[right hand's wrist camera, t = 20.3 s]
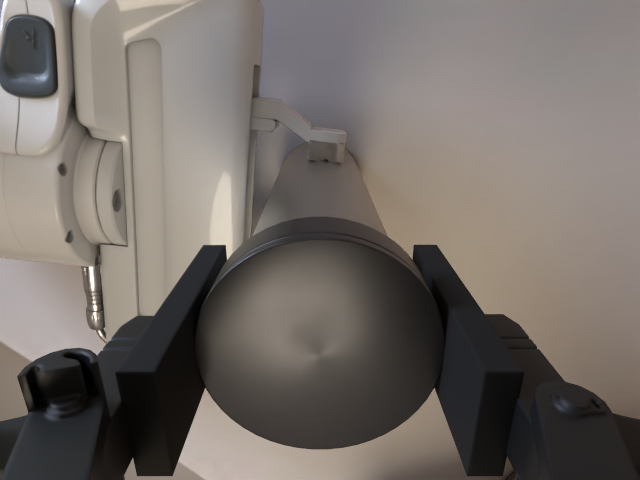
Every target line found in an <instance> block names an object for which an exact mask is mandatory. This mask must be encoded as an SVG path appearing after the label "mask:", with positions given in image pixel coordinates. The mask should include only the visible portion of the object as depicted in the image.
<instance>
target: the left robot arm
mask: <svg viewBox="0 0 640 480" xmlns="http://www.w3.org/2000/svg"><path fill="white" fill-rule="evenodd" d="M263 25H264V8H263V5H262V3H261V1H260V0H4V2H3V7H2V12H1V19H0V258H8V259H18V260H28V261H38V262H47V263H56V264H66V265H76V266H81V267H82V277H83V285H84V290H85V293H86V298H87V308H86V317H87V322H88V325H89V327H90V328H91V329H93V330H96V332H97V334H98V335H99V337H100V338H101V339H102V340H103V341H104V342H105V343H106V344H107V343H108V342H109V341H111V338H112V337H113V335H114V334H115V333H116V332H117V330H118V329H119V328H120V327H121V326H122V325H123V324H125V323H126V322H128V321H130V320H131V319H133V318H134V317H136V316H154V315H155V314H156V312H157V311H158V309H159V308H160V306H161V305H162V304H163V302H164V301H165V299H166V298H167V296H168V295H169V294H170V292H171V291H172V289H173V288H174V286H175V285H176V283H177V282H178V281H179V279H180V278H181V276H182V275H183V273H184V272H185V271H186V269H187V268H188V266H189V265H190V263H191V262H192V260H193V259H194V258H195V256H196V255H197V253H198V252H199V250H200V249H201V248H202V246H203V245H226V253H227V260H228V258H229V257H230V256H231V255H232V254H233V253H234V252H235V251H236V250H237V249H238V248H239V247H240V246H241V245H242V244H243V243H244V242H246V241H247V240H248V239H249V238H251V226H252V209H253V193H254V176H255V159H256V142H257V130H260V131H269V132H273V131H274V130H275V129H276V128H277V127H278V125H279V122H280V123H282V124H283V125H284V126H286V127H287V128H289V129H290V130H291V131H293V132H294V133H295V134H297V135H298V136H300V137H301V138H302V139H304V140H305V141H306V142H308V143H309V141H310V145H309V157H308V160H315V161H323V160H325V159H327V160H328V161H329V162H334V163H343V157H344V151H345V144H346V137H347V133H346V131H344V130H340V129H332V128H324V127H316V126H312V123H310V122H309V121H308V120H306V119H305V118H304V117H302V116H301V115H300V114H298V113H297V112H296V111H295V110H293V109H292V108H291V107H289V106H288V105H287V104H285V103H284V102H283V101H281V100H275V99H267V98H259V92H260V76H261V59H262V42H263ZM103 328H105V331H106V332H105V331H104V329H103Z"/></svg>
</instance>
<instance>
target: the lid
mask: <svg viewBox="0 0 640 480" xmlns="http://www.w3.org/2000/svg"><path fill="white" fill-rule="evenodd" d="M194 343H195V352H196V360H197V367H198V371H199V374H200V377H201V379H202V381H203V383H204V385H205V388H206V389H207V391H208V392H209V394H210V395H211V397H212V399H213V400H214V401H215V402H216V404H217V405H218V406H219V407H220V408H221V409H222V411H224V412H225V413H226V414H227V415H228V416H229V417H230V418H231V419H232V420H234V421H235V422H236V423H238V424H239V425H241V426H242V427H243V428H245V429H247V430H249V431H250V432H252V433H254V434H256V435H258V436H260V437H262V438H265V439H267V440H269V441H273V442H276V443H279V444H282V445H287V446H292V447H297V448H306V449H334V448H343V447H348V446H353V445H357V444H361V443H364V442H367V441H370V440H373V439H375V438H377V437H380V436H382V435H384V434H386V433H388V432H389V431H391V430H393V429H395V428H396V427H398V426H399V425H401V424H402V423H403V422H405V421H406V420H407V419H409V418H410V417H411V416H412V415H413V414H414V413H415V412H416V411H417V410H418V409H419V408H420V407H421V406H422V404H423V403H424V402H425V401H426V400H427V398H428V397H429V395H430V393H431V392H432V390H433V389H434V387H435V385H436V383H437V380H438V378H439V376H440V373H441V370H442V365H443V358H444V350H445V330H444V324H443V319H442V317H441V314H440V311H439V308H438V305H437V304H436V302H435V300H434V298H433V296H432V294H431V292H430V290H429V288H428V286H427V284H426V282H425V280H424V278H423V276H422V275H421V273H420V271H419V269H418V267H417V265H416V264H415V263H414V262H413V260H412V259H411V258H410V256H409V255H408V254H407V253H406V252H405V251H404V250H403V249H402V248H401V247H400V246H399V245H398V244H397V243H396V242H394V241H393V240H392V239H390V238H389V237H388V236H386V235H384V234H383V233H381V232H379V231H377V230H375V229H374V228H371V227H369V226H366V225H364V224H361V223H359V222H355V221H351V220H347V219H343V218H335V217H305V218H297V219H293V220H289V221H285V222H281V223H278V224H276V225H273V226H271V227H268V228H266V229H264V230H262V231H261V232H259V233H257V234H255V235H254V236H252V237H251V238H249V239H248V240H247V241H246V242H244V243H243V244H242V245H241V246H240V247H239V248H238V249H237V250H236V251H235V252H234V253H233V254H232V255H231V256H230V257H229V258H228V260H227V261H226V262H225V264H224V265H223V267H222V269H221V270H220V272H219V274H218V276H217V278H216V280H215V282H214V284H213V286H212V288H211V289H210V291H209V293H208V295H207V297H206V299H205V301H204V303H203V305H202V307H201V310H200V313H199V316H198V319H197V323H196V328H195V334H194Z"/></svg>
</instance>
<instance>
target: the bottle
mask: <svg viewBox="0 0 640 480" xmlns="http://www.w3.org/2000/svg"><path fill="white" fill-rule="evenodd" d="M309 145H310V141H309V143H308V142H306V143H303V144H301V145H299V146H298V147H296V148H295V149H294V150H293V151H292V152H290V154H289V155H288V156H287V157H286V159H285V161H284V163H283V165H282V167H281V170H280V172H279V174H278V177H277V179H276V181H275V184H274V186H273V188H272V191H271V193H270V196H269V198H268V200H267V203H266V205H265V207H264V210H263V212H262V214H261V217H260V219H259V221H258V224H257V226H256V228H255V231H254V233H253V235H252V236H254V235H255V234H257V233H259V232H261V231H262V230H264V229H266V228H268V227H271V226H273V225H276V224H278V223H281V222H285V221H289V220H293V219H297V218H305V217H335V218H343V219H347V220H351V221H355V222H359V223H361V224H364V225H366V226H369V227H371V228H374V229H375V230H377V231H379V232H381V233H383V234H384V235H386V236H387V234H386V232H385V229H384V227H383V225H382V222H381V220H380V218H379V215H378V213H377V211H376V208H375V206H374V204H373V201H372V199H371V197H370V194H369V192H368V190H367V187H366V185H365V183H364V180H363V178H362V176H361V173H360V171H359V168H358V166H357V164H356V162H355V160H354V158H353V157H352V155H351V154H350V153H349V152H348V151H347V150H346V149H345V151H344V157H343V163H334V162H329V161H328V160H327V159H325V160H323V161H315V160H308V157H309Z"/></svg>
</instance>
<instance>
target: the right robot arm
mask: <svg viewBox="0 0 640 480" xmlns="http://www.w3.org/2000/svg"><path fill="white" fill-rule="evenodd" d="M226 261H227V253H226V245H203V246H202V248H201V249H200V250H199V252H198V253H197V255H196V256H195V258H194V259H193V260H192V262H191V263H190V265H189V266H188V268H187V269H186V271H185V272H184V273H183V275H182V276H181V278H180V279H179V281H178V282H177V283H176V285H175V286H174V288H173V289H172V291H171V292H170V294H169V295H168V296H167V298H166V299H165V301H164V302H163V304H162V305H161V306H160V308H159V309H158V311H157V312H156V314H155V315H154V316H136V317H134V318H133V319H131V320H130V321H128V322H126V323H125V324H123V325H122V326H121V327H120V328H119V329H118V330H117V332H116V333H115V334H114V335H113V337H112V338H111V341H109V342H108V343H107V344H106V345H105V347H104V348H103V351H101V352H100V353H99V354H98V355H96V354H95V353H93V352H92V351H91V350H87V349H82V348H73V349H64V350H60V351H56V352H52V353H50V354H47V355H45V356H43V357H41V358H38V359H36V360H35V361H33V362H32V363H30V364H29V365H28V366H26V367H25V368H24V369H23V370H22V371H21V373H20V374H19V375H18V376H17V377H18V381H19V384H20V387H21V390H22V393H23V396H24V400H25V403H26V406H27V409H28V415H26V416H23V417H19V418H14V419H10V420H5V421H1V422H0V480H125V477H124V474H125V472H126V470H127V468H128V466H129V464H130V462H131V460H132V458H133V459H134V463H135V468H136V472H137V476H173V473H174V470H175V468H176V465H177V462H178V460H179V457H180V454H181V451H182V449H183V446H184V443H185V441H186V438H187V435H188V433H189V430H190V427H191V424H192V422H193V419H194V416H195V414H196V411H197V408H198V406H199V403H200V400H201V397H202V395H203V392H204V389H205V385H204V383H203V381H202V379H201V377H200V374H199V371H198V367H197V360H196V352H195V343H194V334H195V328H196V323H197V319H198V316H199V313H200V310H201V307H202V305H203V303H204V301H205V299H206V297H207V295H208V293H209V291H210V289H211V288H212V286H213V284H214V282H215V280H216V278H217V276H218V274H219V272H220V270H221V269H222V267H223V265H224V264H225V262H226ZM413 262H414V263H415V264H416V265H417V267H418V269H419V271H420V273H421V275H422V276H423V278H424V280H425V282H426V284H427V286H428V288H429V290H430V292H431V294H432V296H433V298H434V300H435V302H436V304H437V305H438V308H439V311H440V314H441V317H442V319H443V324H444V330H445V350H444V358H443V365H442V370H441V373H440V376H439V378H438V380H437V383H436V385H435V390H436V393H437V395H438V398H439V401H440V403H441V406H442V409H443V412H444V414H445V417H446V420H447V422H448V425H449V428H450V431H451V433H452V436H453V439H454V441H455V444H456V447H457V449H458V452H459V455H460V458H461V460H462V463H463V466H464V468H465V471H466V474H467V476H503V472H504V467H505V462H506V458H507V456H508V458H509V460H510V462H511V464H512V466H513V468H514V471H515V472H514V473H513V474H512V475H510V476H509V477H508V478H507V479H506V480H640V420H638V419H634V418H629V417H625V416H620V415H617V414H613V413H612V412H611V410H610V409H609V407H608V406H607V404H606V403H605V402H604V401H603V400H602V399H600V398H599V397H598V396H597V395H595V394H594V393H592V392H590V391H588V390H587V389H585V388H583V387H581V386H578V385H574V384H571V383H567V382H565V381H564V380H563V379H562V377H561V376H560V375H559V374H558V373H557V371H556V370H555V369H554V368H553V366H552V365H551V364H550V363H549V361H548V360H547V359H546V358H545V356H544V355H543V354H542V353H541V351H540V350H539V349H537V346H536V345H535V344H534V343H533V341H532V340H531V339H529V336H528V335H527V334H526V333H525V332H524V330H523V329H522V328H521V327H520V325H519V324H517V323H516V322H514V321H513V320H511V319H509V318H508V317H506V316H505V315H503V314H484V313H483V311H482V310H481V308H480V307H479V305H478V304H477V303H476V301H475V300H474V298H473V297H472V295H471V294H470V293H469V291H468V290H467V288H466V287H465V285H464V284H463V282H462V281H461V280H460V278H459V277H458V275H457V274H456V272H455V271H454V270H453V268H452V267H451V265H450V264H449V262H448V261H447V259H446V258H445V257H444V255H443V254H442V252H441V251H440V249H439V248H438V247H437V245H414V250H413Z"/></svg>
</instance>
